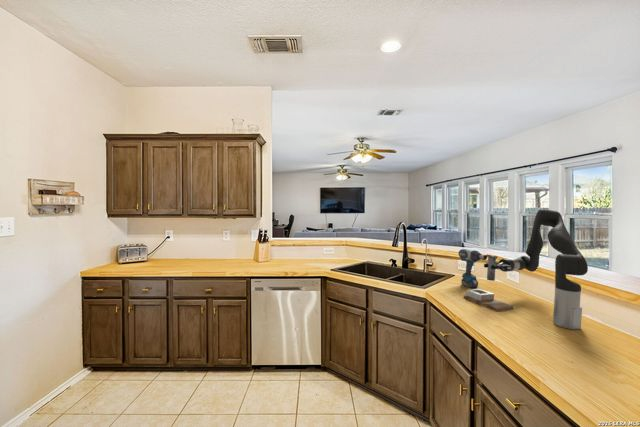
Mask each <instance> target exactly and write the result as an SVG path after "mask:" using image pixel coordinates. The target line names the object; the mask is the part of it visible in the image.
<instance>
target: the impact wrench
mask: <svg viewBox="0 0 640 427" xmlns="http://www.w3.org/2000/svg"><path fill="white" fill-rule="evenodd" d="M486 255H487V254H482V253H480V252H479V250H475V249H474V250H473V249H466V248H465V249H464V248H462V249H459V251H458V256H459V258H460V260H461V261H463V262H466V266H465V272H464V273H463V274H462V275H461V277H462V278H461V280H460V281H461V285H463V286H464V287H467V288H471V289H473V288H478V287H479V281H478V280H477V276H475V275H474V274H472V271H473V270H472V269H473V267H474V266H475V263H476V262H478V261H480V260H481V261H486V260H488V257H487V256H486Z"/></svg>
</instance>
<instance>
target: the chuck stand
mask: <svg viewBox="0 0 640 427" xmlns="http://www.w3.org/2000/svg"><path fill="white" fill-rule="evenodd" d="M462 298H463V299H465V300H468V301H469V302H470V301H471V302H472V301H473V303H476V304H478V305H480V306H483V307H485V308H488V309H491V310H494V311H496V312H501V311H509V310H514V308H515V306H514V305H512V304H509V303H505V302H503V301H500V300H497V299H495V293H494V292H491V291H488V290H484V289H482V288H474V289H473V288H471V289H466V292H465V295H463V297H462Z"/></svg>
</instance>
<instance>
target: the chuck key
mask: <svg viewBox="0 0 640 427" xmlns="http://www.w3.org/2000/svg"><path fill="white" fill-rule="evenodd" d="M485 255H486V256H487V262H488V267H487V269H486V270H487V271H486V272H487V273H486V279H487V281H491V282H493V281H496V269H491V265H496V262H497V259H498V258H499V257H498V256H496V255H492V254H485Z"/></svg>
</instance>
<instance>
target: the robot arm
mask: <svg viewBox="0 0 640 427" xmlns="http://www.w3.org/2000/svg"><path fill="white" fill-rule="evenodd" d="M542 226H545V227H551V229H550V230H548V233H547V240H548V242H549V244H550V246H551V248H553V249H554V250H556V251H557V252H558V253H559V254H557V255H556V257H555V261H554V265H555V266H554V268H555V271H554V272H555V278H554V283H555V284H554V299H553V300H554V301H553V316H552V323H553V324H554V325H556V326H557V327H560V328H564V329H569V330H573V331H574V330H579V329H581V328H582V316H583V307H581V295H582V294H581V292H582V285H581V284H580V283H577V282H575V281H572V280H570V279H568V278H567V275H569V276H579V277H580V276H585V275H586V274H587V273H588V271H589V268H588V267H589V266H588V261H587V260H586V258H585V257H584V255H583V254H582V253H581V251H580V250H579V248H577V245H576V244H575V243H574V241H573V239H572V236H571V234H570V233H569V231H568V229H567V228H566V225H565V222H564V219H563V217H562V214H561V213H560V212H559V211H557V210H553V209H552V210H550V209H545V208H540V209H538V211H537V212H536V214H535V218H534V221H533V225H532V230H531V234H530V239H529V242H528V245H527V246H526V248H525V249H526V250H525V254H526V255H527V256H526V255H521V256H519V257H517V258H501V259H499V260H498V261H496V265H491V269H495V270H499V271H502V272H517V271H522V270H524V269H525V270H527V271H529V272H531V273H533V272H536V271H537V270H538V268H539V266H540V265H539V264H540V255H541V253H542V249H543V247H544V241H543V240H544V239H543V237H542V235H541V227H542ZM483 267H484V269H485V268H488V261H487V262H486V263H484V264H483ZM537 267H538V268H537ZM536 269H537V270H536Z"/></svg>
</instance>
